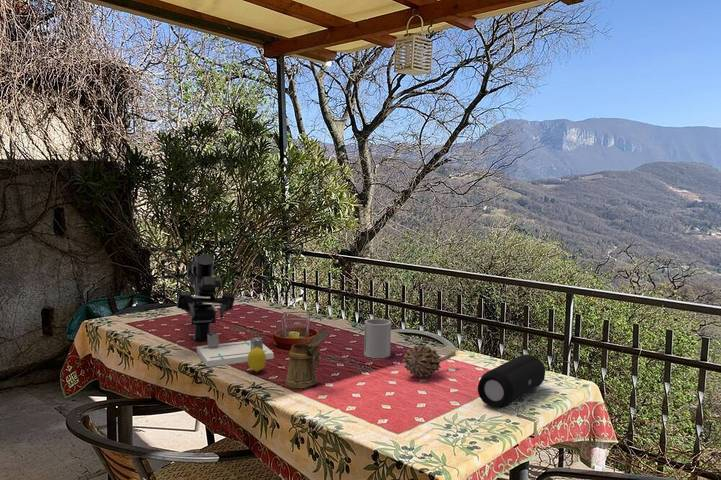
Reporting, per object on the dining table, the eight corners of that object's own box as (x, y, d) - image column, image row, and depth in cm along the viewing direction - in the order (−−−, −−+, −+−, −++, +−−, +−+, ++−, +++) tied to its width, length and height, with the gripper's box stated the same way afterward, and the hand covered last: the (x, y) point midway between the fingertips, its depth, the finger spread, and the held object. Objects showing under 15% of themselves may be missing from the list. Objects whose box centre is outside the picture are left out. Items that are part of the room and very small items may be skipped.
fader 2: (250, 350, 180) (250, 338, 180) (259, 348, 182) (259, 337, 181) (253, 353, 177) (253, 341, 176) (262, 352, 178) (262, 340, 178)
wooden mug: (314, 394, 147) (315, 331, 146) (279, 384, 155) (279, 323, 153) (334, 385, 154) (335, 325, 153) (299, 376, 162) (300, 318, 161)
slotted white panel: (196, 352, 185) (196, 346, 185) (258, 345, 195) (258, 339, 195) (207, 367, 169) (207, 360, 169) (273, 358, 179) (273, 352, 179)
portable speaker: (508, 415, 135) (510, 377, 135) (473, 405, 142) (475, 369, 141) (547, 389, 155) (549, 356, 154) (515, 381, 161) (516, 349, 160)
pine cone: (419, 386, 155) (420, 353, 155) (395, 377, 162) (396, 345, 162) (464, 370, 170) (465, 340, 169) (441, 363, 177) (441, 334, 176)
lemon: (261, 375, 162) (261, 350, 161) (244, 374, 163) (244, 348, 162) (268, 370, 167) (268, 345, 167) (252, 368, 168) (252, 343, 168)
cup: (395, 355, 185) (396, 321, 184) (378, 361, 178) (379, 326, 177) (375, 350, 191) (376, 317, 190) (358, 355, 185) (359, 321, 184)
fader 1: (207, 344, 185) (207, 333, 185) (216, 343, 187) (216, 332, 186) (209, 347, 182) (209, 336, 181) (218, 346, 183) (218, 335, 183)
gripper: (180, 267, 181) (182, 299, 169) (235, 271, 189) (240, 301, 177) (176, 291, 186) (177, 323, 175) (229, 294, 194) (234, 324, 183)
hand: (208, 317), depth 177 cm, fingers open, 9 cm apart
